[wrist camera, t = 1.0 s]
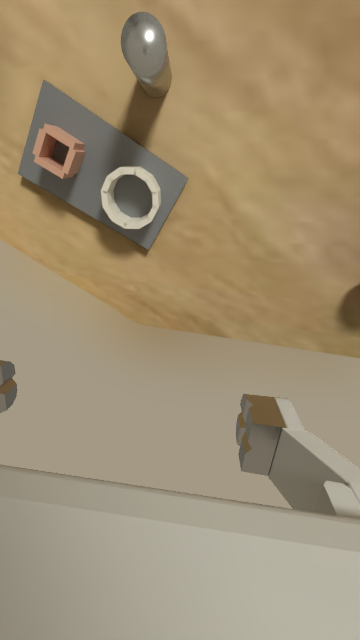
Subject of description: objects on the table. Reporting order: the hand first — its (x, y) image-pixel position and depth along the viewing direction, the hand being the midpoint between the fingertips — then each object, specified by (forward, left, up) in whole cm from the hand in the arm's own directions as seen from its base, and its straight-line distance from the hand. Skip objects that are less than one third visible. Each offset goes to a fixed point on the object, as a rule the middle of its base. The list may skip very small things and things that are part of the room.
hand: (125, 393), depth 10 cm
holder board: (-11, -1, -39) cm, 40 cm away
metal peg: (-10, +13, -39) cm, 42 cm away
